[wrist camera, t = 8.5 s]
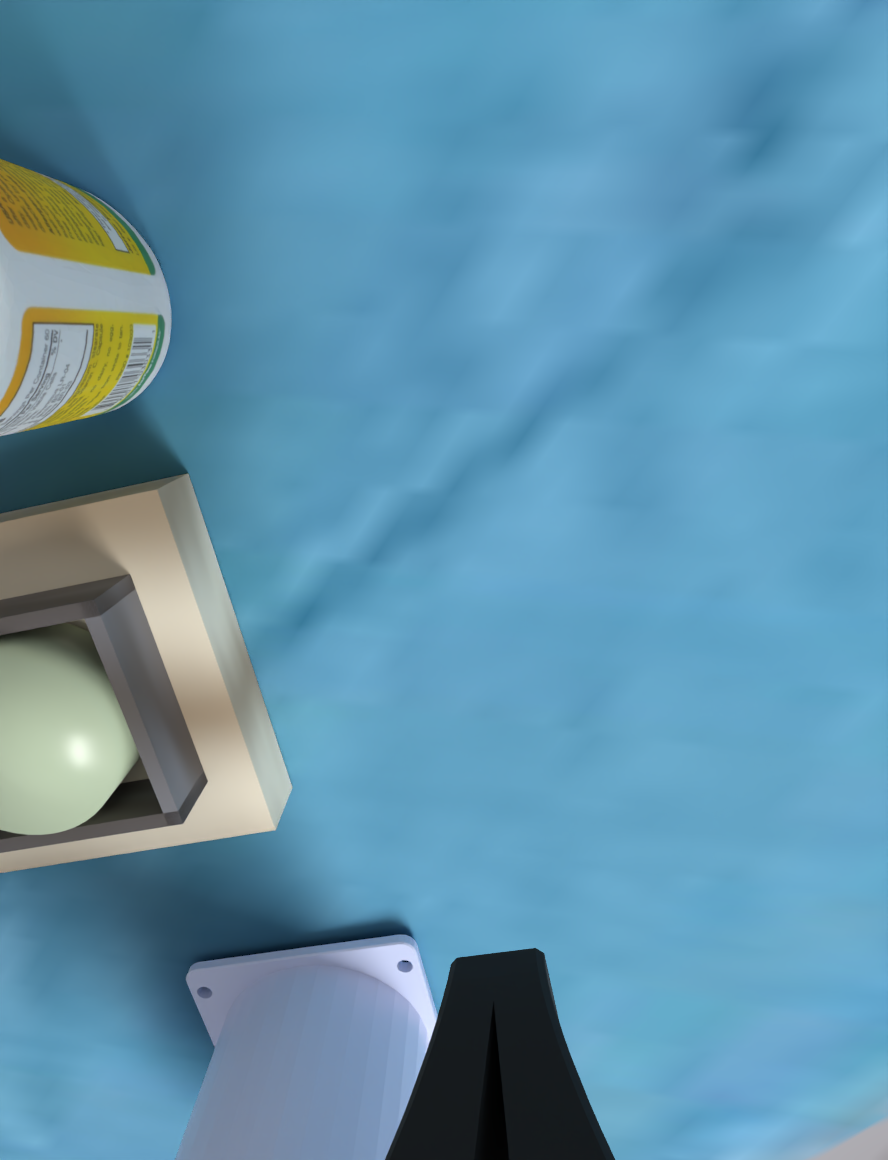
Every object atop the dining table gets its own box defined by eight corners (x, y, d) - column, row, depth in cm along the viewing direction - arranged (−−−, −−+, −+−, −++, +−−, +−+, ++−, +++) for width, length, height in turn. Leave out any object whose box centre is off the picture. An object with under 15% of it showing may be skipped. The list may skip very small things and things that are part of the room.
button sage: (177, 771, 20) (146, 818, 18) (9, 799, 20) (-39, 848, 18) (112, 603, 18) (70, 635, 16) (-68, 638, 19) (-130, 674, 17)
